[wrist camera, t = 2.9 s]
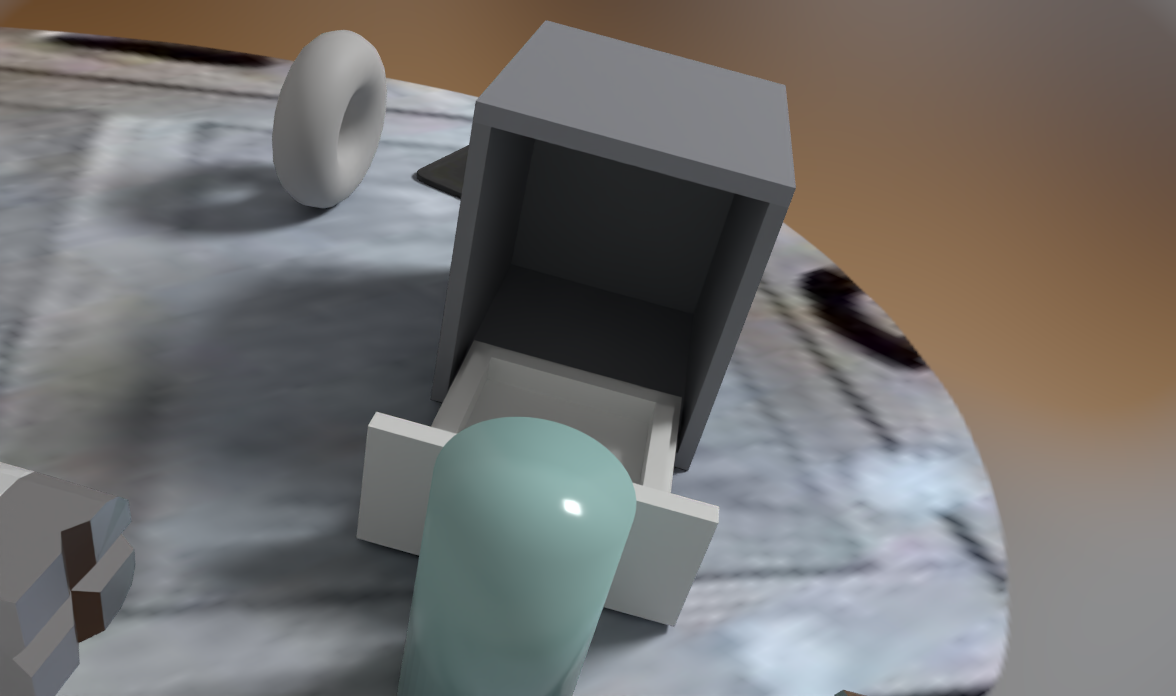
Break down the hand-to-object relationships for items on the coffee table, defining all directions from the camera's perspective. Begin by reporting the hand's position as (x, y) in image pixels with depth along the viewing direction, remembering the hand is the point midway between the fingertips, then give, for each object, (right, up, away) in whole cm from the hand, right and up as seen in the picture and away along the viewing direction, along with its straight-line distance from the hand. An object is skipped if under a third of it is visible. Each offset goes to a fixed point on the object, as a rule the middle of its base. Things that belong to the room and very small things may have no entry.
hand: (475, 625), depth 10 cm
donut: (-14, +12, +43) cm, 47 cm away
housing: (+1, +3, +35) cm, 35 cm away
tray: (0, -2, +27) cm, 27 cm away
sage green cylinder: (-2, -8, +19) cm, 20 cm away
